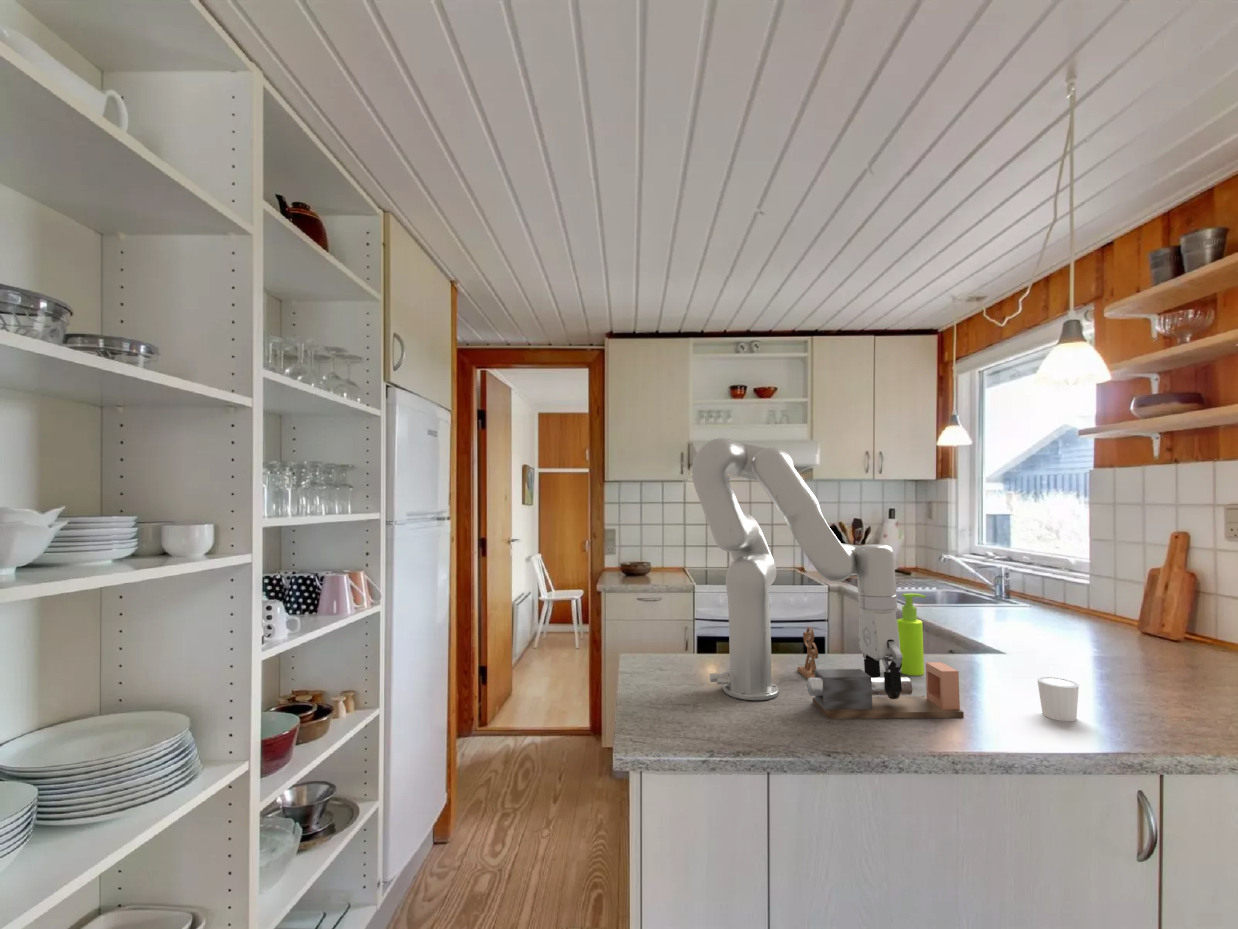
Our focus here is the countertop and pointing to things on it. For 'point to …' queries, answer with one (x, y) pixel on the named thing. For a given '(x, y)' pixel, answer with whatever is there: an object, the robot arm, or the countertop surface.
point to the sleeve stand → (869, 699)
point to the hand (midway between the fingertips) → (882, 684)
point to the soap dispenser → (911, 638)
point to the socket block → (942, 685)
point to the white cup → (1058, 698)
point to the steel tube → (877, 687)
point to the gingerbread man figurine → (809, 655)
